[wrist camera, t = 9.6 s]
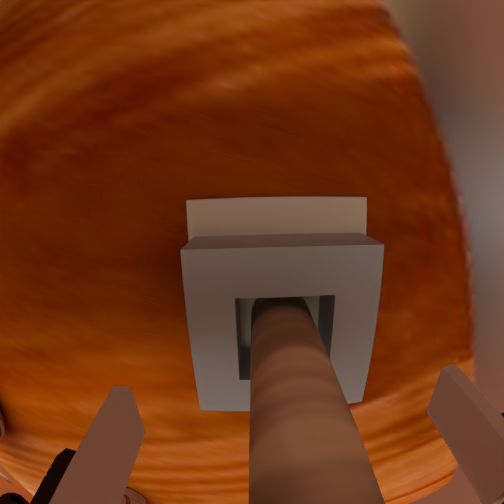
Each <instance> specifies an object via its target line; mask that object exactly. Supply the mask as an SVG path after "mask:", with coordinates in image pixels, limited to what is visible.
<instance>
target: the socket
mask: <svg viewBox="0 0 504 504" xmlns="http://www.w3.org/2000/svg"><path fill="white" fill-rule="evenodd" d="M186 207H187V225H188V240H189V242H188V243H187V244H186V245H185V246H184V247H183V248H182V249H181V250H180V253H181V265H182V276H183V286H184V296H185V305H186V314H187V322H188V331H189V338H190V346H191V353H192V360H193V367H194V373H195V380H196V386H197V392H198V398H199V404H200V410H206V411H250V364H251V310H252V306H253V303H254V301H255V300H256V298H273V297H299V296H302V297H303V298H304V299H305V301H306V304H307V306H308V308H309V311H310V313H311V315H312V318H313V320H314V322H315V325H316V327H317V330H318V332H319V334H320V337H321V339H322V342H323V344H324V347H325V349H326V351H327V354H328V356H329V359H330V361H331V364H332V366H333V369H334V371H335V373H336V376H337V378H338V381H339V383H340V386H341V388H342V391H343V393H344V396H345V398H346V401H347V404H349V403H356V402H362V398H363V394H364V389H365V384H366V380H367V375H368V370H369V364H370V359H371V353H372V348H373V342H374V335H375V329H376V322H377V315H378V307H379V299H380V290H381V280H382V269H383V257H384V244H382V243H380V242H378V241H376V240H374V239H372V238H370V237H368V236H366V221H367V197H351V196H276V197H237V198H212V199H192V200H186Z"/></svg>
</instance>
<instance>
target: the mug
mask: <svg viewBox="0 0 504 504" xmlns="http://www.w3.org/2000/svg"><path fill="white" fill-rule="evenodd" d="M120 504H146V500H145V498H144V497H143V496H142V495H140V494H139V493H137V492H136V491H134V490H132V489H129V488H127V487H126V489H125V492H124V494H123V497H122V500H121V503H120Z"/></svg>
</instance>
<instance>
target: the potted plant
mask: <svg viewBox="0 0 504 504" xmlns="http://www.w3.org/2000/svg"><path fill="white" fill-rule="evenodd" d="M4 434H5V424H4V419H3V415H2V413H1V410H0V438H1V437H3V436H4Z"/></svg>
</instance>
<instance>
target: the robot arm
mask: <svg viewBox="0 0 504 504" xmlns="http://www.w3.org/2000/svg"><path fill="white" fill-rule="evenodd" d="M426 413H427V414H428V416H429V417H430V419H431V420H432V422H433V423H434V425H435V426H436V428H437V430H438V431H439V433H440V434H441V436H442V437H443V439H444V441H445V442H446V444H447V445H448V447H449V449H450V450H451V452H452V453H453V455H454V457H455V458H456V460H457V461H458V463H459V465H460V466H461V468H462V470H463V471H464V473H465V475H466V476H467V478H468V480H469V481H470V483H471V485H472V487H473V488H474V490H475V491H476V494H477V495H478V497H479V499H480V501H481V502H482V504H496V503H497V502H499V501H500V500H501V499H502V498H503V497H504V413H502V414H500V413H499V411H498V410H497V409H496V408H495V407H494V406H493V405H492V403H491V402H490V401H489V400H488V399H487V398H486V397H485V396H484V394H483V393H482V392H481V391H480V390H479V389H478V388H477V387H476V386H475V385H474V384H473V382H472V381H471V380H470V379H469V378H468V377H467V376H466V375H465V374H464V373H463V372H462V371H461V370H460V369H459V368H458V367H457V365H456V364H452V365H449V366H445V367H442V370H441V373H440V376H439V379H438V382H437V385H436V387H435V390H434V393H433V396H432V398H431V401H430V403H429V406H428V408H427V411H426ZM145 432H146V431H145V429H144V426H143V423H142V420H141V417H140V415H139V412H138V409H137V406H136V403H135V400H134V397H133V393H132V390H131V387H126V386H118V385H114V386H113V388H112V389H111V391H110V393H109V394H108V396H107V398H106V399H105V401H104V403H103V405H102V406H101V408H100V410H99V412H98V413H97V415H96V417H95V419H94V420H93V422H92V424H91V426H90V427H89V429H88V431H87V433H86V435H85V436H84V438H83V440H82V442H81V444H80V445H79V447H78V449H77V451H74V450H71V449H68V448H66V449H65V450H63V451H62V452H61V453H60V454H58V455H57V456H56V458H55V460H54V461H53V463H52V465H51V468H49V470H48V472H47V476H45V477H44V479H43V481H42V483H41V484H40V486H39V488H38V490H37V492H36V494H35V495H34V497H33V499H32V501H31V502H30V504H120V503H121V500H122V497H123V494H124V492H125V489H126V486H127V483H128V480H129V477H130V474H131V471H132V468H133V466H134V463H135V460H136V457H137V454H138V452H139V449H140V446H141V443H142V441H143V438H144V435H145ZM0 504H29V503H28V502H27V501H26V500H25V499H24V498H23V497H22V496H21V495H19V494H16V493H6V494H3V495H2V496H1V497H0ZM502 504H504V502H503V503H502Z"/></svg>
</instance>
